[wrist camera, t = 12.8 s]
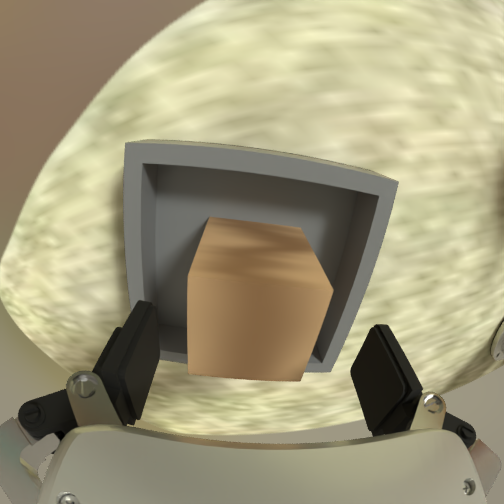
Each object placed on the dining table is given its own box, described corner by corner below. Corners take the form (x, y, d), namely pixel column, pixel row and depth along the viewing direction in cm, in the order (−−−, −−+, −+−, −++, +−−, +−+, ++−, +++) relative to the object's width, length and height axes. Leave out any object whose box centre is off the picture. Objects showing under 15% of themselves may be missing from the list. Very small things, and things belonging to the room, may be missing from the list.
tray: (371, 170, 16) (398, 181, 13) (320, 341, 22) (330, 372, 19) (148, 139, 15) (125, 142, 12) (150, 325, 21) (138, 355, 17)
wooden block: (300, 227, 17) (333, 290, 10) (284, 302, 19) (300, 381, 13) (209, 216, 16) (187, 276, 10) (204, 294, 18) (188, 373, 12)
